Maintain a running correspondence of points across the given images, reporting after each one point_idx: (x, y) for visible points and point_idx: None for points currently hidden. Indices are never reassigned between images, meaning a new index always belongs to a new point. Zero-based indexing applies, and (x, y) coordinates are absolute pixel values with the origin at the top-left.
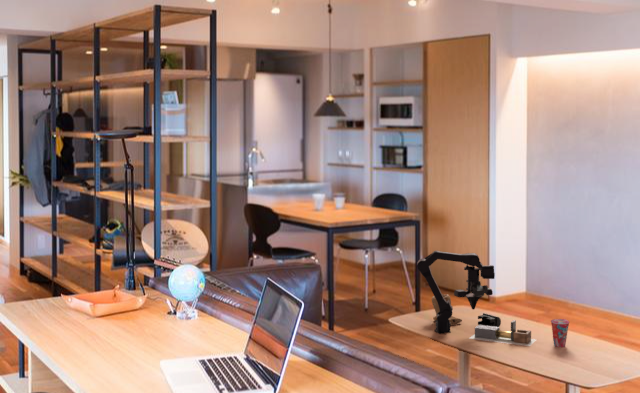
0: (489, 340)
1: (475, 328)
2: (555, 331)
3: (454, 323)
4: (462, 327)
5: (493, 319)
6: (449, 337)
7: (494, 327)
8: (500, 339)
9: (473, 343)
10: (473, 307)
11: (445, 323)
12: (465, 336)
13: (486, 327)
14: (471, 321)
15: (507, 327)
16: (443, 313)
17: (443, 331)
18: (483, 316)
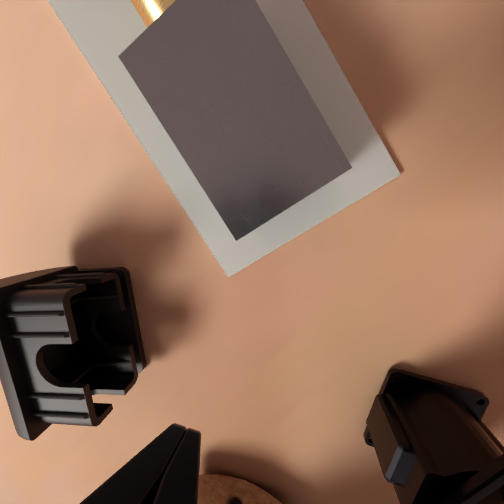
0: (300, 31)
1: (347, 161)
2: None
3: (235, 484)
4: (230, 414)
5: (37, 292)
6: (492, 287)
7: (167, 69)
8: None
9: (469, 34)
10: (180, 460)
11: (478, 449)
12: (364, 245)
13: (238, 111)
14: (113, 465)
15: (4, 270)
16: None
17: (452, 397)
18: (67, 389)
